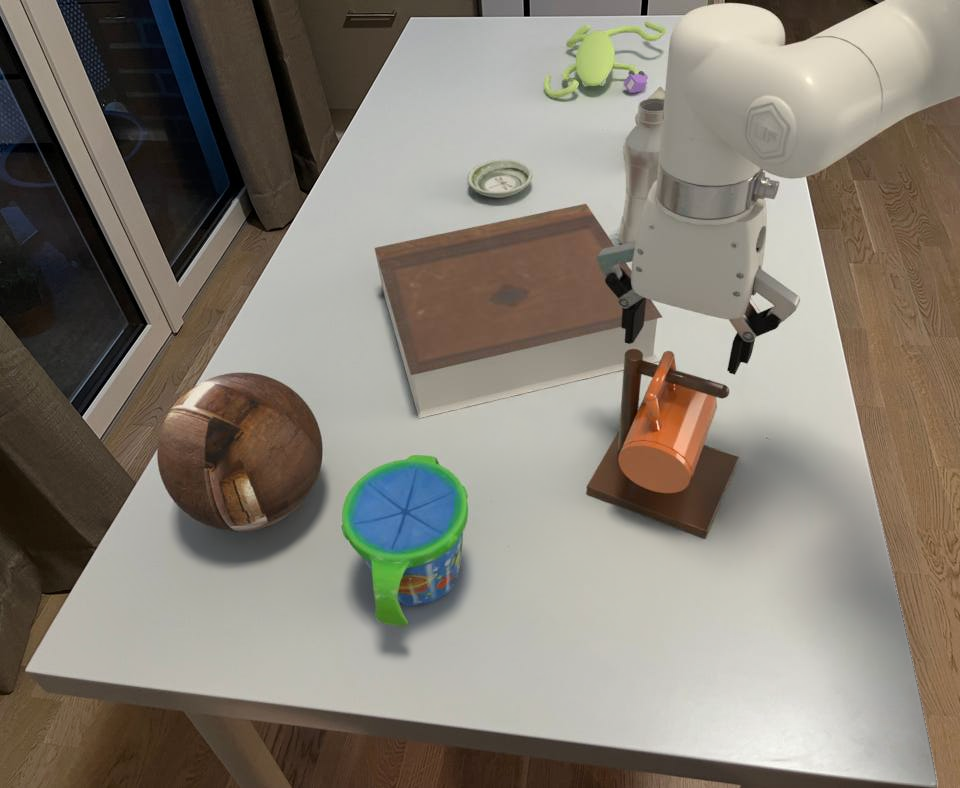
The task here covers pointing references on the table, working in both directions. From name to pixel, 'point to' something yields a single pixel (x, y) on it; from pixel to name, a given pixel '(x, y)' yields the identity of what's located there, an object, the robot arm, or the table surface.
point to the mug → (667, 433)
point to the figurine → (602, 59)
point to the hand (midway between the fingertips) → (683, 349)
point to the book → (506, 309)
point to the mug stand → (709, 478)
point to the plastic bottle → (641, 164)
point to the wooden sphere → (239, 451)
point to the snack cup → (407, 532)
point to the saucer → (499, 177)
